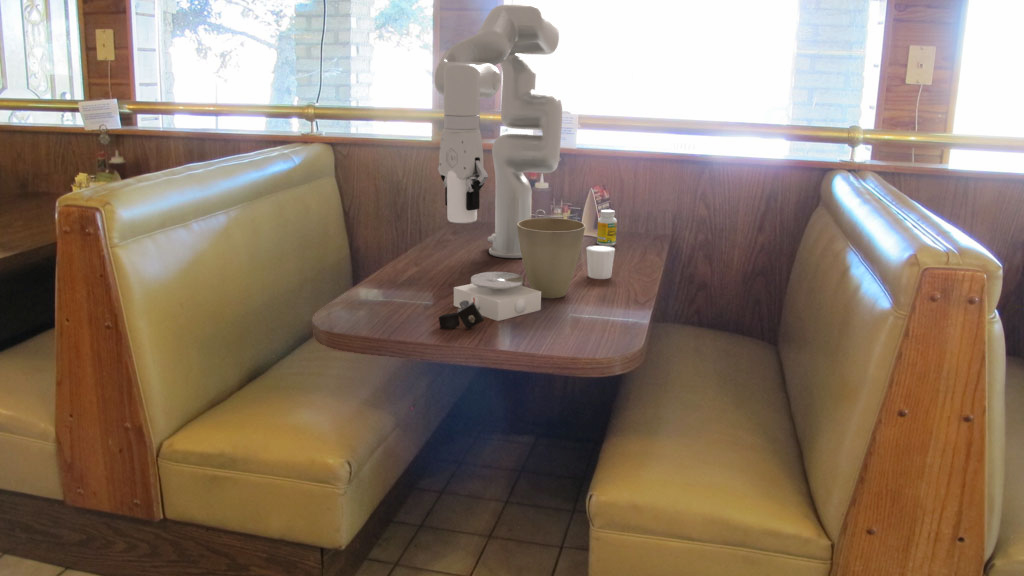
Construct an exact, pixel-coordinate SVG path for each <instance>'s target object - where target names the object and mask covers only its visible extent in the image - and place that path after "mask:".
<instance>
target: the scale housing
mask: <svg viewBox="0 0 1024 576" xmlns="http://www.w3.org/2000/svg"><path fill="white" fill-rule="evenodd" d="M464 300H465V301H466V300H468V301H469V304H470V303H472V302H473V303H474V304H475V306H476V307H477V309H478V311H479V312H480V314H481V315H482V316H483V317H484V318H488V319H491V320H494V321H496V322H499V321H503V320H507V319H511V318H515V317H519V316H522V315H528V314H531V313H534V312H539V311H541V309H542V298H541V291H538V290H534V289H531V287H528V286H523V285H521V286H518V287H515V288H508V289H488V288H482V287H477V286H475V285H473V284H472V283H469V284H465V285H459V286H455V287H453V306H454V307H456V308H458V309H461V306H460V304H459V303H460V302H462V301H464Z"/></svg>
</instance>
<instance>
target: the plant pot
mask: <svg viewBox="0 0 1024 576" xmlns="http://www.w3.org/2000/svg"><path fill="white" fill-rule="evenodd" d="M517 229H518V237H519V244H520V250H521V255H522V258H521V259H522V263H523V267H524V272H525V274H526V277H527V281H528V285H529V288H531V289H534V290H538V291H541V299H559V298H562V297H565V296H566V294H567V292H568V290H569V288H570V285H571V282H572V280H573V277H574V274H575V271H576V268H577V264H578V262H579V258H580V255H581V250H582V247H583V240H584V235H585V230H586V224H585V223H584V222H581V221H579V220H576V219H569V218H561V217H536V218H535V217H534V218H533V217H531V219H526V220H522V221H519V222H518V223H517Z"/></svg>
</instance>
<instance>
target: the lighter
mask: <svg viewBox="0 0 1024 576" xmlns="http://www.w3.org/2000/svg"><path fill="white" fill-rule="evenodd" d="M459 304H460V306H461V308H457V312H452V313H443V314H441V315H439V316H438V323H439V326H440V327H439V328H440V329H443V330H450V329H456V328H458V327H459V326H461V325H460V324H461V323H460V322H462V323H463V325H464V326H465V328H466V329H467V330H470V329H471V328H473V327H475V326H477V325H478V324H480V323H482V322H483V321H484V320H485V317H484V316H482V315H481V314H480V312H479V311H478V309H477V307H476V306H475V304H474V303H473V302H472V303H470V304H469V301H468V300H466V301H465V300H464V301H462V302H460V303H459ZM460 320H461V321H460Z"/></svg>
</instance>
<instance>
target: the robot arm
mask: <svg viewBox="0 0 1024 576" xmlns="http://www.w3.org/2000/svg"><path fill="white" fill-rule="evenodd" d="M559 38H560V33H559V28H558V25H557V23H556V21H555V20H554V19H553V17H552V16H551V14H550V13H549V12H548V11H546V10H545V9H544V8H543V7H541V6H539V5H536V4H500V5H497V6H495V7H493V8H492V9H491V10H490V11H489V13H488V15H487V16H486V18H485V20H484V21H483V22H482V25H481V27H480V29H479V30H478V31H477V34H474V35H472V36H469V37H467V38H466V39H463V40H462V41H459V42H457V43H456V44H454V45H452V46H451V47H450V48H448V49H447V50H446V51H445V52H444V54H443V55H442V57H441V58H440V60H439V63H438V64H437V67H436V69H435V72H434V86H435V88H436V91H437V92H438V94H440V95H441V96H443V121H444V123H443V125H444V126H443V129H442V132H441V136H440V142H439V156H438V157H439V158H438V162H439V163H438V166H437V171H438V173H439V175H440V178H441V180H442V181H443V183H442V184H443V187H444V188H445V189H444V194H445V195H444V201H445V202H444V203H445V204H444V205H445V206H447V174H448V172H449V171H451V170H452V171H454V172H455V173H456V175H457V177H458V178H459V179H466V183H467V187H468V190H469V192H467V193H466V209H467V210H469V211H470V210H477V211H478V210H479V209H480V192H481V191H482V188H483V186H484V185H485V182H487V179H488V178H489V174H488V173H487V171H486V169H485V168H484V149H483V139H482V134H481V130H480V128H481V127H480V122H481V121H480V120H481V119H480V115H481V114H480V113H481V112H480V111H481V110H480V109H481V108H480V106H481V104H480V103H481V102H480V99H484V98H485V99H488V98H491V97H494V96H495V95H496V94H497V93H498V91H499V89H500V87H501V86H502V87H501V88H502V89H501V103H500V119H501V123H502V125H503V126H504V127H505V128H508V129H516V130H530V131H531V130H535V131H540V132H541V135H540V134H521V133H519V134H518V133H506V134H501V135H499V136H498V137H496V138H495V140H494V141H493V143H492V147H491V153H492V154H491V155H492V160H493V167H494V178H495V183H494V184H495V201H494V202H495V203H494V205H495V207H494V208H495V213H494V214H495V216H494V217H495V218H494V220H495V221H494V226H495V227H494V233H492V234H491V235H490V236H488V237H487V242H490V243H491V242H492V246H491V247H489V249H488V253H489V254H490V255H491V256H493V257H497V258H503V259H522V255H521V250H520V244H519V237H518V229H517V223H518V222H519V221H522V220H526V219H532V194H533V192H532V186H531V183H530V181H529V180H528V178H527V177H526V175H525V174H524V173H541V174H542V173H543V174H545V173H546V174H549V173H553V172H554V171H556V169H557V168H558V167H559V162H560V156H561V155H560V154H561V138H562V125H563V105H562V102H561V99H560V97H559V96H558V95H557V94H556V93H552V92H547V91H546V92H544V91H543V92H540V91H539V92H538V91H536V79H537V76H536V75H537V74H536V71H535V68H534V66H533V65H532V63H531V62H530V60H529V59H528V58H527V56H526V55H551V54H552V53H554V52H555V51H556V50H557V48H558V44H559V41H560V39H559ZM499 64H500V67H501V73H502V77H501V73H500V71H499V69H498V68H497V66H496V65H499ZM501 84H502V85H501ZM451 167H453V168H451ZM472 174H475V176H472ZM471 176H472V177H471ZM471 180H474V183H473V184H472V181H471Z"/></svg>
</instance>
